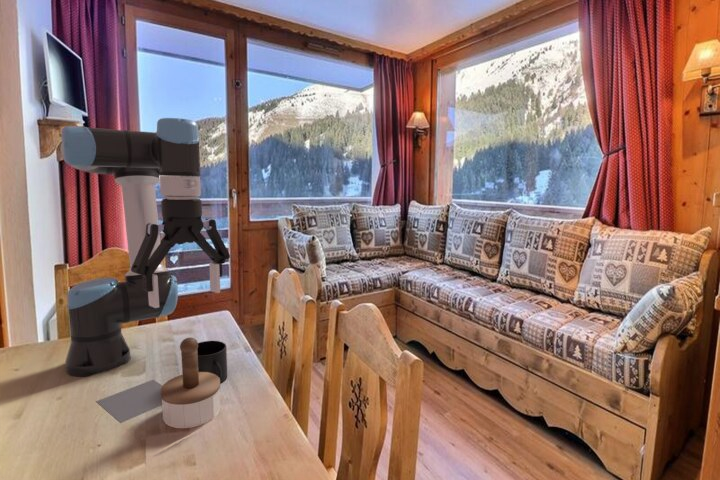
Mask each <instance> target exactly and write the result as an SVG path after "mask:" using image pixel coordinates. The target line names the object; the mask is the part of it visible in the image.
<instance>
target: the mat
mask: <svg viewBox="0 0 720 480" xmlns="http://www.w3.org/2000/svg"><path fill="white" fill-rule="evenodd" d="M162 386H163V385H162V384H161V383H159V382H158V381H156V380H155V379H150V380H148V381H145V382H143V383H140V384H138V385H136V386H132V387H129V388H128V389H125V390H121V391H120V392H119V391H118V392H117V393H114V394H112V395H108V396H107V397H106V396H105V397H104V398H101V399H97V400H96V401H95V402H96V403H97V404H98V405H99V406H101V407H102V409H104V410H105V411H106V412H108V414H110V415H111V416H112V417H113V418H114V419H115V420H117V421H118V423H121V424H122V423H125V422H126V421H129V420H131V419H134V418H136V417H138V416H140V415H142V414H145V413H146V412H149V411H151V410H153V409H155V408H158V407H161V406H162V398H161V388H162Z"/></svg>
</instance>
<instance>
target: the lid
mask: <svg viewBox="0 0 720 480" xmlns="http://www.w3.org/2000/svg"><path fill="white" fill-rule="evenodd" d="M198 343H199V342H198V341H197V339H196V338H194V337H185V338H184V339H183V340H182V341H181V342H180V345H179V350H180V352H181V353H180V357H181V370H182V374H180V375H177V376H175V377H173V378H171V379H169V380H167V381H166V382H164V384H163V385H162V388H161V398H162V399H163V400H164V401H165V402H167V403H170V404H177V405H183V404H191V403H196V402H200V401H202V400H205V399H207V398H209V397H211V396H213V395H214V394H215V393H216V392H217V391H218V390H219V388H220V389H221V384H220V378H219V377H218V376H217V375H215V374H213V373H209V372H198V352H197V349H198Z"/></svg>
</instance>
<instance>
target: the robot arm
mask: <svg viewBox="0 0 720 480" xmlns="http://www.w3.org/2000/svg"><path fill="white" fill-rule="evenodd" d="M60 135H61V144H60V147H59V149H60V151H59V152H60V155H61V158H62V159H63V161H64V162H65V164H67V165H68V166H69V167H71V168H74V169H76V170H79V171H82V172H85V173H91V174H96V175H97V174H98V175H113V178H114V182H115V183H116V184H118V185H119V186H120V188H121V193H122V202H123V203H122V204H123V211H124V221H125V230H126V231H125V232H126V239H127V249H128V251H127V252H128V258H129V260H128V261H129V270H128V271H127V272H126V273H125V274H124V279H125V281H120V282H119V280H118V279H117V278H116V277H111V276H109V277H99V278H95V279H90V280H87V281H83V282H81V283H78V284H76V285H74V286H72V287H71V288H70V289H69V290H68V291H67V298H66V299H67V305H66V309H68V310H67V311H68V319H69V322H68V323H69V330H70V331H69V332H70V334H69V335H70V344H69V349H68V352H67V355H66V357H65V363H64V365H65V372H66V373H67V374H68V375H71V376H74V377H76V376H77V377H89V376H94V375H96V374H100V373H104V372H108V371H111V370H114V369H117V368H119V367H121V366H123V365H126V364H128V363H129V361H130V360H131V350H130V347H129V345H128V343H127V341H126V340H125V337H124V335H123V333H122V325H123V324H127V323H133V322H139V321H144V320H148V319H153V318H154V319H155V318H156V319H158V318H160V317H163V316H168V315H169V316H170V315H171V314H173V312H174V311H175V309H176V307H177V303H178V298H179V286H178V280H177V277H176V276H175V275H172V274H170V269H169V268H168V267H166V266H165V265H164V264H163V263H164V262H163V261H164V259H165V257H166V256H167V255H168V253H169V252H170V250H171V249H172V248H174V247H175V245H183V244H186V243H189V244H192V243H193V244H194V243H195V245H197V246H198V247H199V248H200V250H202V251H203V252H204V253H205V254H206V255H207V257H209V259H210V260H211V261H212V262H209V263H208V264H209V289H210V292H212V293H216V294H219V293H221V277H223V264H225V262H226V260H229V259H230V257H231V255H230V253H229V250H228V249H227V247H226V245H225V242H224V241H223V239H222V237H221V235H220V233H219V231H218V227H217V221H216V220H215V219H211V218H205V220H202V216H203V207H202V206H203V204H202V200H201V198H199V197H200V196H201V195H202V188H201V187H202V186H201V164H200V161H201V160H200V159H201V158H200V155H201V154H200V140H201V139H200V134H199V127H198V123H197V122H196V121H195V120H192V119H187V118H179V117H177V118H176V117H175V118H174V117H161V118H159V119H158V120H157V122H156V132H152V131H151V132H150V131H141V130H140V131H137V130H125V129H124V130H123V129H122V130H121V129H111V128H99V127H87V126H84V125H83V126H80V125H79V126H71V125H70V126H64V127H63V128H62V129H61V134H60ZM158 183H159V184H160V186H159V187H160V195H161V197H164V198H163V199H161V204H160V205H161V216H162V223H161V224H159V223H160V222H159V216H158V206H157V205H158V204H157V196H156V185H157V184H158ZM203 228H204V230H205V231H206V233H207V234H206V235H207V236H208V237H209V239H210V242H211V243H212V245H213V246H212V245H211V244H210V242H208V240H207V239H206V237H205V236H204V234H202V233H201V232H202V230H203ZM161 232H162V233H163V234H164V236H163V237H162V238H161V235H160V234H161Z"/></svg>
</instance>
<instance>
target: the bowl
mask: <svg viewBox="0 0 720 480" xmlns="http://www.w3.org/2000/svg"><path fill="white" fill-rule="evenodd" d="M220 389H221V387H220V388H219V390H218V391H217V392H216V393H215V394H214V395H213V396H211V397H209V398H207V399H205V400H202V401H200V402H196V403H191V404H183V405H177V404H170V403H167V402H165V401H164V400H163V399H162V405H161V406H162V407H161V408H162V420H163V421H164V423H165V424H166V425H167V426H169V427H171V428H176V429H189V428H190V429H191V428H193V427H194V428H195V427H199V426H201V425H204V424H206V423H207V422H208V423H209V421H211V420H213V419H214V418H216V417H217V415H218V414H219V413H220V410H221V393H220V392H221V391H220Z"/></svg>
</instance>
